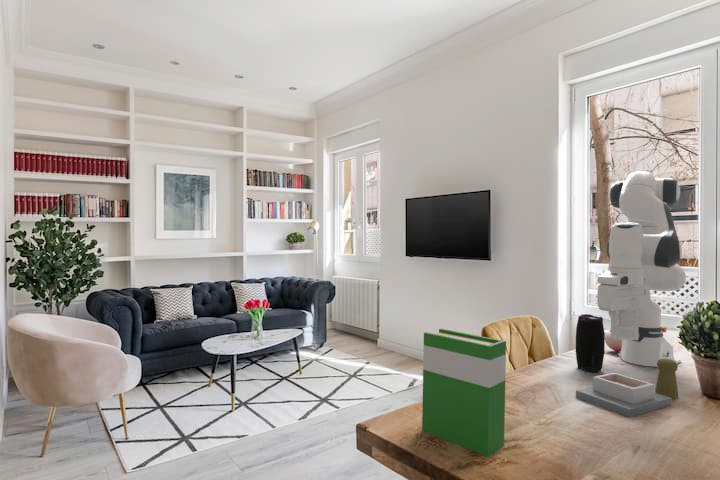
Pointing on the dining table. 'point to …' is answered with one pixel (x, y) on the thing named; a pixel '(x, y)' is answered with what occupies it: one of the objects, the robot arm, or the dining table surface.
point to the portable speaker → (590, 343)
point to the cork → (667, 378)
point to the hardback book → (464, 389)
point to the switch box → (623, 394)
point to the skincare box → (627, 322)
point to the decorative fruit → (613, 342)
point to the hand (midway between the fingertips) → (624, 324)
